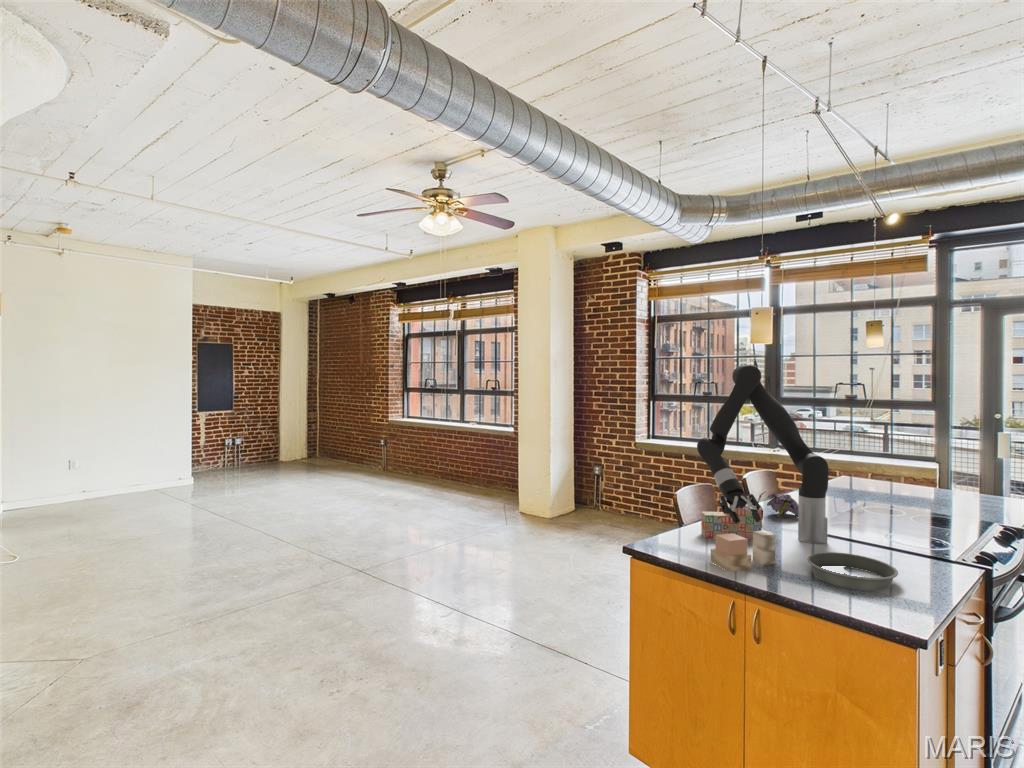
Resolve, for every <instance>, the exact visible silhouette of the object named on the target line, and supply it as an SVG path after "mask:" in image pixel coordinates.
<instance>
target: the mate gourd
mask: <svg viewBox="0 0 1024 768" xmlns="http://www.w3.org/2000/svg"><path fill="white" fill-rule="evenodd" d="M765 493H767V491H766V490H765V491H764V492H761V493H760V494H759V497H758V500H757V502H758V504H759V503H760V501H761V498H762V496H763V495H764V494H765ZM759 505H760V507H761V509H762V520H763V519H764V509H763V507H762V505H761V504H759ZM755 506H756V505H755Z"/></svg>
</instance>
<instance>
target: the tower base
mask: <svg viewBox="0 0 1024 768" xmlns="http://www.w3.org/2000/svg"><path fill="white" fill-rule="evenodd" d="M711 562H712V563H714V564H716V565H718V566H720V567H721V568H720V567H719V568H720V569H722V568H723V569H722V570H724V569H725V570H724V571H726V570H727V571H730V572H737V571H738V570H739V571H746V569H747V570H752V554H751V553H748V552H747V554H744V555H735V556H728V555H726V554H724V553H722V552H720V551H717V550H716V547H715V548H710V563H711ZM712 563H711V564H712ZM714 564H713V565H714ZM716 565H715V566H716ZM718 566H717V567H718ZM736 570H737V571H736ZM727 571H726V572H727Z"/></svg>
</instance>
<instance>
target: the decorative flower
mask: <svg viewBox="0 0 1024 768" xmlns="http://www.w3.org/2000/svg"><path fill="white" fill-rule="evenodd" d="M769 498H772V499H769ZM766 499H769V501H768V502H767V504H766V506H767V507H769V506H770V507H771V508H772V510H773V511H775V512H776V513H777V512H778V513H777V518H778V519H780V518H781V516H782V517H784V516H785V514H787V513H791V514H793V515H794V516H795V518H798V504H799V503H798V502H797V501H796V500H795V499H793V498H792V496H791V495H790V494H788V493H787V494H785V493H783V492H782V493H781V492H776V493H775V492H774V493H771V494H768V496H767V497H766ZM783 512H785V513H783Z"/></svg>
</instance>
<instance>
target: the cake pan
mask: <svg viewBox="0 0 1024 768" xmlns="http://www.w3.org/2000/svg"><path fill="white" fill-rule="evenodd" d="M806 561H807V563H808V564H809V565H810V567H811V572H812V574H813V576H814V577H816V578H817V579H819V580H821V581H823V582H825V583H828V584H831V585H834V586H837V587H841V588H845V589H851V590H859V591H860V590H861V591H882V590H886V589H890V587H891V586H892V583H893V580H894V579H896V577H898V575H899V571H898V570H897V568H896V567H894V566H893V565H891V564H890V563H889V564H888V563H887V562H884V561H881V560H878V559H876V558H872V557H868V556H864V555H863V556H862V555H860V554H854V553H847V552H846V553H844V552H834V551H831V552H829V551H824V552H815V553H812V554H809V555H808V556H807V557H806ZM822 566H846V568H849V567H853V568H852V569H855V568H858V569H857V570H860V569H863V570H862V571H864V570H867V571H866V572H868V571H870V572H869V573H871V572H873V573H872V574H874V573H876V574H875V575H877V574H878V575H877V576H879V575H880V577H866V576H864V577H857V576H850V575H847V574H845V573H844V574H840V573H836V572H832V571H829V570H826V569H823V568H821V567H822Z"/></svg>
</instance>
